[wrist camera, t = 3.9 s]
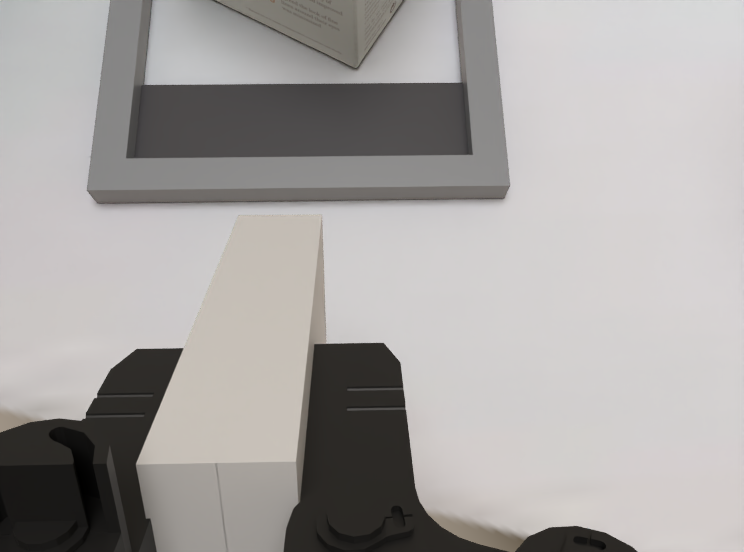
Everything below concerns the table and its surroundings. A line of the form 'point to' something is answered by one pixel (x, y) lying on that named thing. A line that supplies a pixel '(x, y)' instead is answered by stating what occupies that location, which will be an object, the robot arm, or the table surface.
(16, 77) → the table surface
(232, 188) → the grey square frame
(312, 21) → the small box
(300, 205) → the table surface
